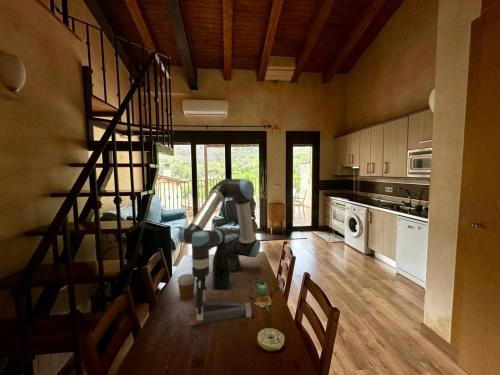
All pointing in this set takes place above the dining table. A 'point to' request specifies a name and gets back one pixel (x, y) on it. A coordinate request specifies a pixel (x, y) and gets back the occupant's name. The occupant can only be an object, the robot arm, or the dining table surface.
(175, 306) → the dining table surface
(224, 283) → the beer bottle
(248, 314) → the tong hinge cap
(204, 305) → the tong arm far
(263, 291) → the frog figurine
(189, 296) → the disposable coffee cup
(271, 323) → the dining table surface
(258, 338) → the decorated donut
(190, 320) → the tong arm near
